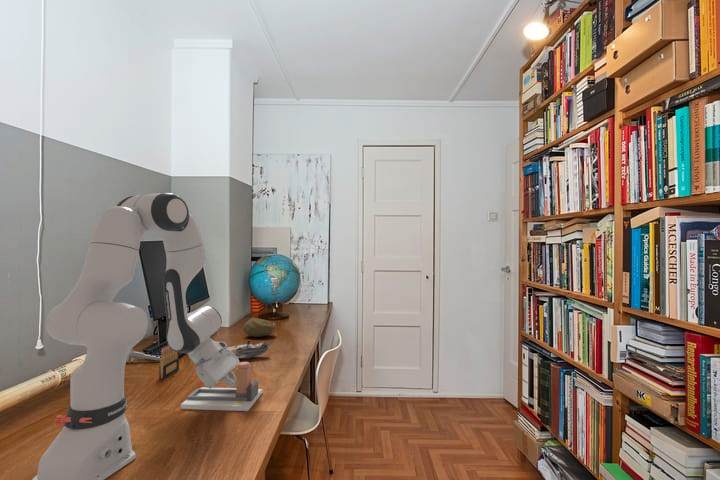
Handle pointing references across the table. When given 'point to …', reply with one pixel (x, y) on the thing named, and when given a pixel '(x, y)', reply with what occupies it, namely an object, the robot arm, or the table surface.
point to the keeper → (243, 378)
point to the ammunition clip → (168, 362)
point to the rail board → (222, 399)
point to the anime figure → (249, 350)
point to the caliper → (141, 356)
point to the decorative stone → (258, 327)
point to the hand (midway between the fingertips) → (236, 385)
